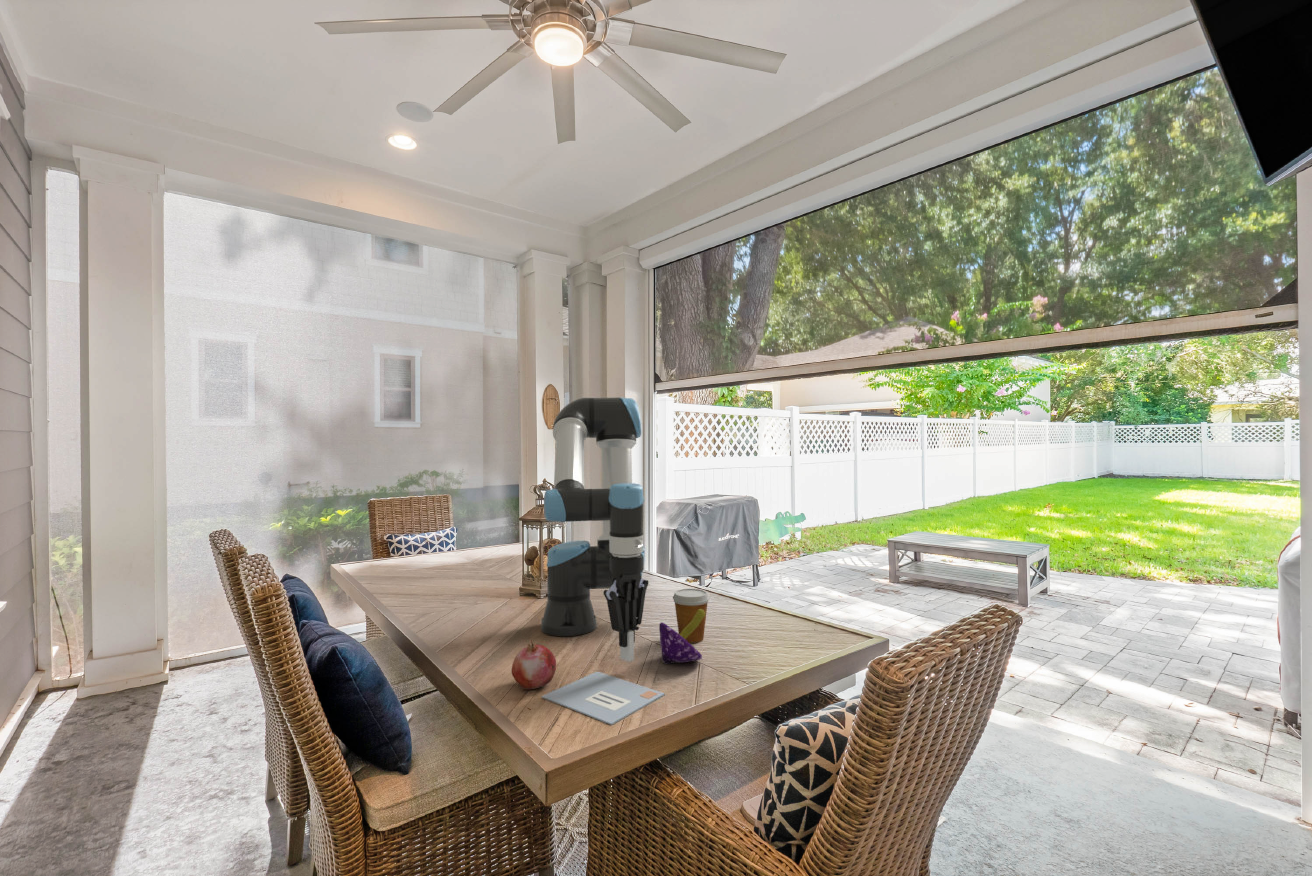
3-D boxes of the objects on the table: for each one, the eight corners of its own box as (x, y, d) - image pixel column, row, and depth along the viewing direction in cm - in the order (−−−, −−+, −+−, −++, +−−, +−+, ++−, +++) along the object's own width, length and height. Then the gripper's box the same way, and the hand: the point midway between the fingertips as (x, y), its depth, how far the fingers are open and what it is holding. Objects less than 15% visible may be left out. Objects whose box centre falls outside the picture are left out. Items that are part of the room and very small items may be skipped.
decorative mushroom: (675, 588, 146) (636, 639, 141) (697, 598, 134) (655, 653, 130) (709, 620, 148) (672, 670, 144) (733, 632, 137) (693, 687, 132)
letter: (542, 697, 120) (542, 695, 120) (597, 672, 133) (597, 670, 133) (611, 725, 108) (611, 722, 108) (664, 694, 121) (664, 692, 121)
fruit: (539, 673, 133) (539, 628, 133) (564, 685, 126) (564, 638, 126) (503, 685, 126) (502, 638, 126) (527, 699, 120) (527, 649, 120)
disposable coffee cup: (707, 646, 149) (707, 598, 149) (670, 643, 151) (669, 596, 151) (711, 633, 158) (711, 588, 158) (676, 631, 160) (676, 587, 160)
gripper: (620, 561, 124) (620, 673, 125) (657, 550, 134) (658, 654, 135) (593, 556, 129) (594, 664, 129) (632, 546, 139) (632, 646, 140)
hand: (627, 659), depth 132 cm, fingers closed
